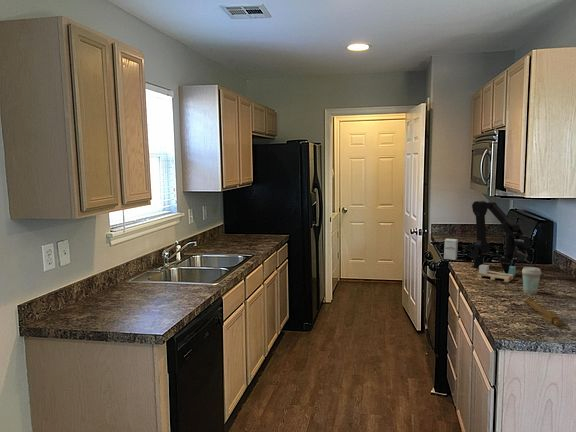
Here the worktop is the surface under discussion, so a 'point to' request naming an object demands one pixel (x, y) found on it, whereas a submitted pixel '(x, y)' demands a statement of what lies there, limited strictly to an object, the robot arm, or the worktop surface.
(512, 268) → the teal cube box
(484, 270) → the gray cube
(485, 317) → the worktop surface
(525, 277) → the coffee cup
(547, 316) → the tap handle
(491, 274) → the pallet dock
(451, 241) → the supplement box
